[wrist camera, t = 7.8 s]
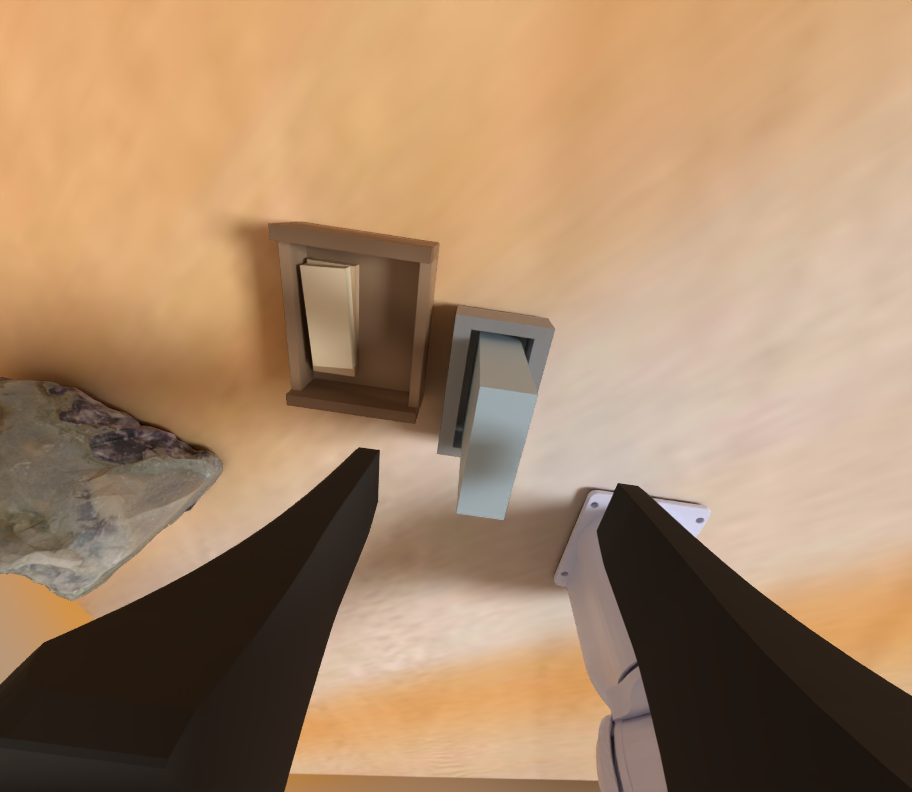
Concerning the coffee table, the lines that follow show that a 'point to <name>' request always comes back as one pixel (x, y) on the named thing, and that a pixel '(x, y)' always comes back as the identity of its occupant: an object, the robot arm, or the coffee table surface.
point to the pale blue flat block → (494, 425)
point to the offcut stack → (332, 314)
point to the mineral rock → (85, 485)
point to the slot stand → (464, 343)
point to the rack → (363, 319)
